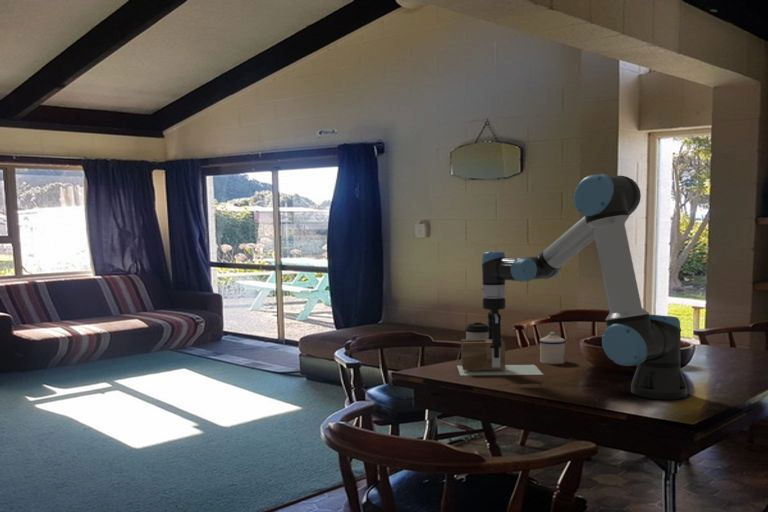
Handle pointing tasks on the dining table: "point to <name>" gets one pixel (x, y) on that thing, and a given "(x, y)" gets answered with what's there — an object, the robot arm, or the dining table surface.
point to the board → (504, 370)
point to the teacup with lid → (552, 349)
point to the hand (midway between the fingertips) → (494, 364)
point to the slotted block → (480, 354)
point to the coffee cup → (477, 331)
